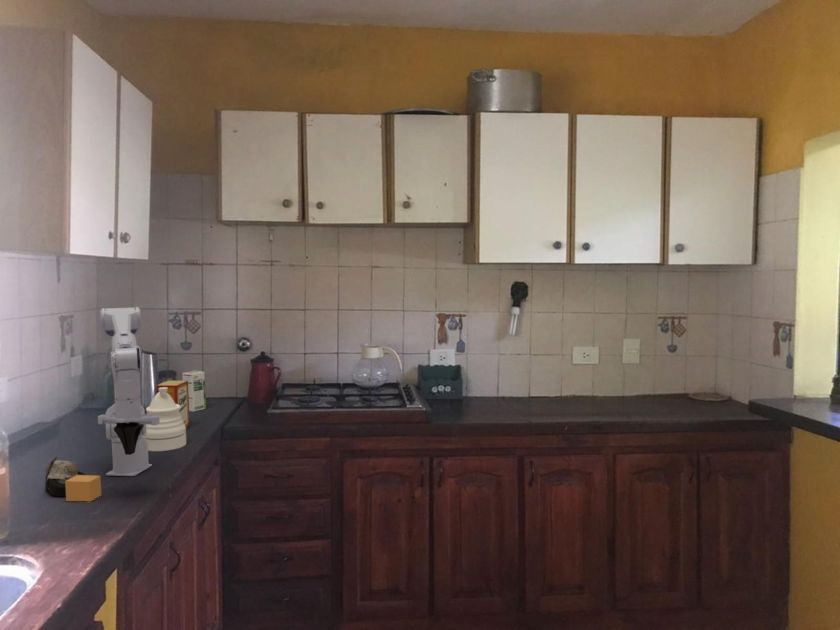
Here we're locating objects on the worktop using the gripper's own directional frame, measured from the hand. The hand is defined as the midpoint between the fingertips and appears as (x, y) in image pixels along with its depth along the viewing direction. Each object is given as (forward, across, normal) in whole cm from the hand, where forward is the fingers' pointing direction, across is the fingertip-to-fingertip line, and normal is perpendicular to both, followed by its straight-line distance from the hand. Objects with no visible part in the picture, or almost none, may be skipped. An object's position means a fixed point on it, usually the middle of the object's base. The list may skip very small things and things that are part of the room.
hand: (130, 453), depth 163 cm
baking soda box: (+10, -19, +61) cm, 65 cm away
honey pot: (+10, -13, +42) cm, 45 cm away
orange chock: (+10, -10, -4) cm, 15 cm away
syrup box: (+10, -25, +90) cm, 94 cm away
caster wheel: (+10, -18, +1) cm, 20 cm away
